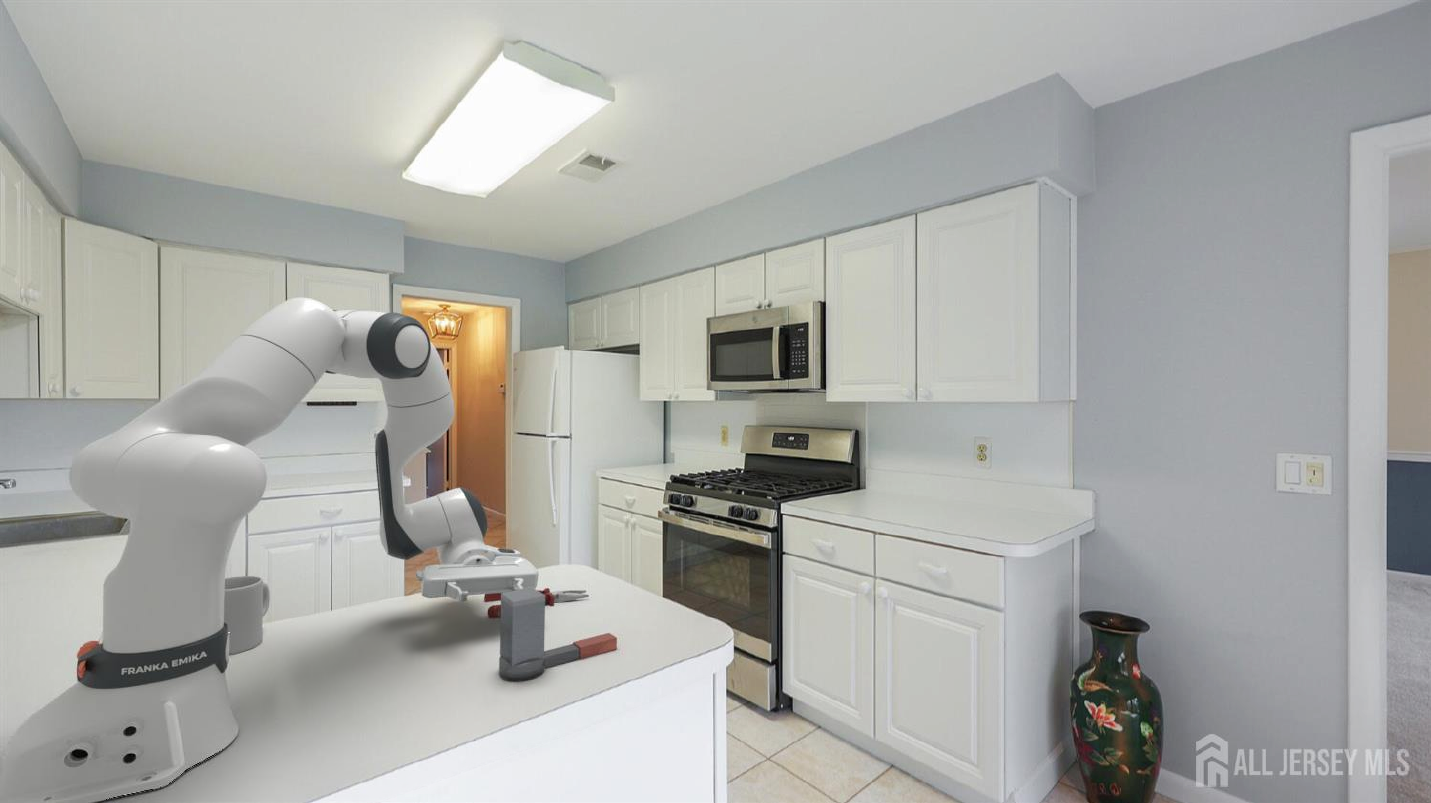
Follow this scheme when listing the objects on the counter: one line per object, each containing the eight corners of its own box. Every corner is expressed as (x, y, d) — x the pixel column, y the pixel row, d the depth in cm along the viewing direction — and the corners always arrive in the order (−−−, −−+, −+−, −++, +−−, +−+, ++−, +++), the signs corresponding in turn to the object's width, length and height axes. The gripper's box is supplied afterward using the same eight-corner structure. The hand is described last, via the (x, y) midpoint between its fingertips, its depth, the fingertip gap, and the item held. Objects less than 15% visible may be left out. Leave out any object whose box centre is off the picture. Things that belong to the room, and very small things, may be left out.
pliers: (593, 607, 129) (593, 595, 129) (487, 621, 121) (487, 607, 121) (581, 591, 140) (581, 579, 140) (483, 602, 131) (483, 589, 131)
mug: (235, 657, 101) (236, 591, 101) (185, 655, 101) (186, 589, 101) (288, 630, 113) (289, 570, 113) (244, 628, 113) (245, 569, 113)
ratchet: (508, 685, 93) (509, 649, 93) (492, 669, 99) (493, 634, 99) (622, 653, 106) (623, 620, 106) (603, 640, 111) (603, 609, 111)
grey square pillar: (511, 666, 94) (513, 602, 94) (500, 654, 99) (501, 593, 98) (543, 657, 98) (545, 595, 98) (531, 647, 102) (532, 587, 102)
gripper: (415, 553, 112) (429, 581, 100) (526, 550, 123) (550, 574, 112) (411, 587, 112) (424, 618, 100) (522, 580, 123) (545, 607, 112)
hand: (491, 595), depth 106 cm, fingers open, 8 cm apart
